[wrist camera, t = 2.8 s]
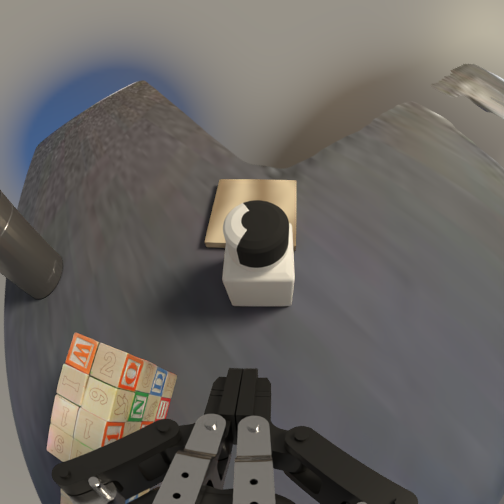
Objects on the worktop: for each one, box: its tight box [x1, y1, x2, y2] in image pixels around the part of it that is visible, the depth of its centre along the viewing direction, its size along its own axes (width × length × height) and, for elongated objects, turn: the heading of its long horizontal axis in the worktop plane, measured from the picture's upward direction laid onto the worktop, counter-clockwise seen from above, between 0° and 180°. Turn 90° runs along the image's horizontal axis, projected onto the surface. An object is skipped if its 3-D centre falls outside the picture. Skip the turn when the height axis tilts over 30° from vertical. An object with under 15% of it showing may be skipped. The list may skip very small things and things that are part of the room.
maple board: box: [205, 179, 296, 251], centre depth 40 cm, size 12×12×1 cm
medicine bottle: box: [222, 200, 295, 306], centre depth 30 cm, size 7×7×12 cm
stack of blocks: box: [47, 333, 177, 504], centre depth 19 cm, size 21×6×12 cm, turn 168°
